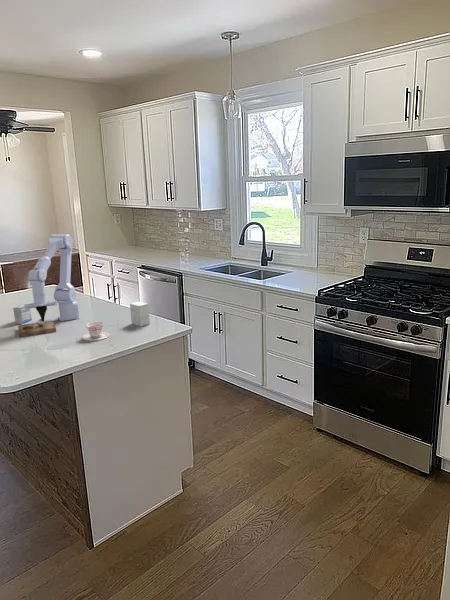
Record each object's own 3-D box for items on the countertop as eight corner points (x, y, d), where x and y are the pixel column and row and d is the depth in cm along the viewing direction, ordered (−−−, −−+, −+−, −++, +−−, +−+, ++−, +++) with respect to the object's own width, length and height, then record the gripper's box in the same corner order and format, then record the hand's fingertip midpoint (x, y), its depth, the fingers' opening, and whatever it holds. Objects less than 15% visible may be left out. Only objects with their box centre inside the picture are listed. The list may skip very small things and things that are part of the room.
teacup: (81, 335, 216) (80, 322, 214) (107, 331, 220) (106, 319, 219) (83, 343, 205) (82, 329, 204) (111, 339, 209) (110, 326, 208)
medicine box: (22, 324, 236) (20, 307, 234) (15, 324, 237) (12, 307, 235) (32, 319, 243) (29, 303, 241) (24, 319, 244) (22, 303, 242)
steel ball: (45, 320, 227) (39, 316, 225) (46, 322, 224) (40, 318, 222) (41, 326, 227) (35, 322, 225) (42, 328, 224) (35, 324, 222)
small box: (150, 324, 230) (148, 303, 227) (141, 326, 226) (139, 305, 223) (140, 321, 235) (138, 301, 232) (131, 323, 231) (129, 303, 228)
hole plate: (53, 324, 234) (52, 320, 234) (56, 331, 222) (55, 327, 221) (18, 329, 227) (18, 325, 227) (20, 337, 215) (19, 333, 215)
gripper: (23, 297, 215) (27, 325, 218) (56, 293, 221) (59, 321, 224) (22, 294, 221) (26, 322, 224) (54, 291, 227) (57, 317, 230)
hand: (42, 321), depth 225 cm, fingers closed, pressing on steel ball
